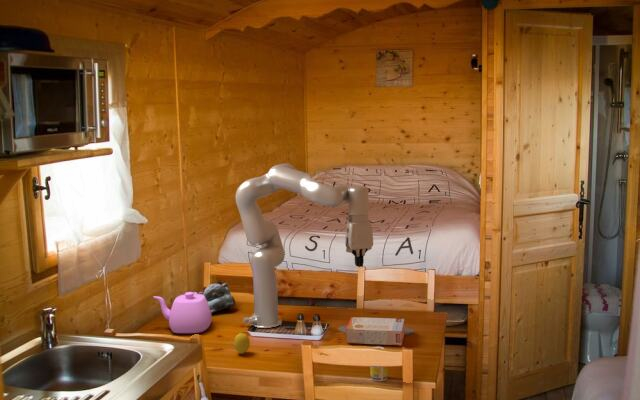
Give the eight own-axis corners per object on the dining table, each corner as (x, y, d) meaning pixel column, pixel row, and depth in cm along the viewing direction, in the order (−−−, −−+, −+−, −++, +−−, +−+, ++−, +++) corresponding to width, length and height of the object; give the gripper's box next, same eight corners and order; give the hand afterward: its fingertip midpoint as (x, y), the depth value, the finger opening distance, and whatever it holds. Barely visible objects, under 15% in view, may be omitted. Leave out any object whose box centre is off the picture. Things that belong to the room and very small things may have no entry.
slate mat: (364, 343, 258) (364, 342, 258) (337, 328, 276) (337, 327, 276) (414, 333, 269) (414, 331, 269) (386, 319, 286) (386, 317, 286)
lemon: (234, 351, 253) (233, 330, 252) (250, 350, 254) (249, 329, 252) (234, 357, 248) (233, 335, 247) (249, 356, 248) (249, 334, 247)
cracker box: (345, 344, 258) (402, 346, 253) (345, 328, 257) (402, 330, 253) (351, 331, 271) (405, 333, 267) (351, 316, 270) (405, 318, 266)
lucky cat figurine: (201, 316, 295) (192, 285, 298) (206, 319, 306) (198, 289, 310) (234, 305, 296) (225, 274, 299) (239, 308, 307) (230, 278, 311)
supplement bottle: (384, 374, 229) (384, 344, 228) (389, 381, 224) (389, 350, 222) (368, 376, 228) (368, 346, 227) (372, 382, 223) (372, 352, 221)
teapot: (216, 319, 292) (214, 284, 289) (208, 336, 271) (206, 298, 269) (162, 320, 292) (160, 285, 290) (149, 337, 271) (147, 299, 269)
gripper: (346, 222, 256) (347, 270, 258) (380, 218, 263) (381, 265, 265) (336, 219, 262) (337, 266, 265) (370, 215, 269) (370, 261, 272)
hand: (359, 265), depth 265 cm, fingers closed
